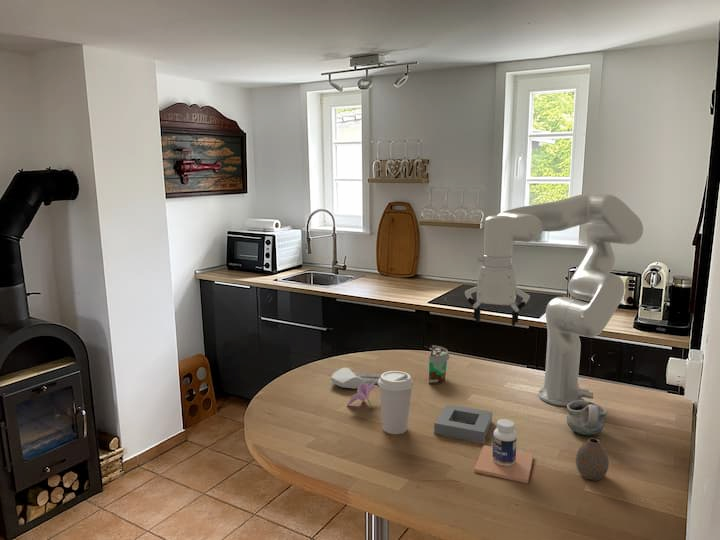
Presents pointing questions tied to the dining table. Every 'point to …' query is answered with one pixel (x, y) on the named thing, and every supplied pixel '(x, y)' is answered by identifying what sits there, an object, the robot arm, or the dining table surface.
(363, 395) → the lily
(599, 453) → the vase
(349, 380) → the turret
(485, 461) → the terracotta tile
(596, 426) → the mug
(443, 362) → the food container
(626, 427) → the dining table surface
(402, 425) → the coffee cup
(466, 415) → the bottle holder
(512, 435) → the pill bottle
